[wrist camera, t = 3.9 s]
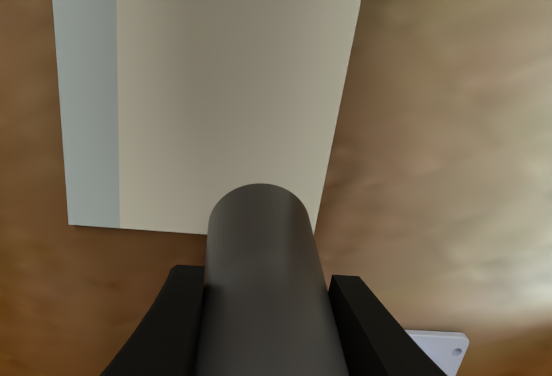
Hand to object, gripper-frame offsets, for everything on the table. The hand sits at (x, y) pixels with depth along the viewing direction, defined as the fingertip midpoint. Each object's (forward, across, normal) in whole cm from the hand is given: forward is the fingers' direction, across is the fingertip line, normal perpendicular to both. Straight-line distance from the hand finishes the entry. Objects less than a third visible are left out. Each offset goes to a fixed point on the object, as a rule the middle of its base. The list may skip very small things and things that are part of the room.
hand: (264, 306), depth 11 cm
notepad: (+9, +2, -2) cm, 10 cm away
